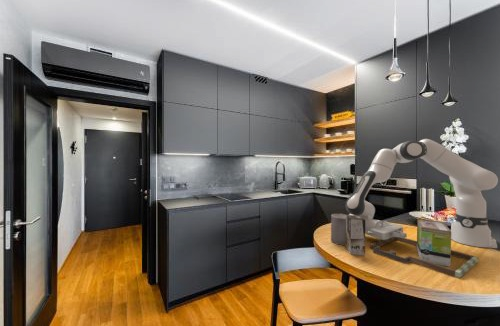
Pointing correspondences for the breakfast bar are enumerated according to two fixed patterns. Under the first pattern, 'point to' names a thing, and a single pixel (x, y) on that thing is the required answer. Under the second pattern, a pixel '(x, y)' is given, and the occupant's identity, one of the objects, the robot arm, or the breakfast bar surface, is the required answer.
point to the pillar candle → (338, 229)
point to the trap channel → (392, 255)
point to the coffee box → (355, 234)
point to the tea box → (434, 242)
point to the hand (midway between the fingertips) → (405, 236)
